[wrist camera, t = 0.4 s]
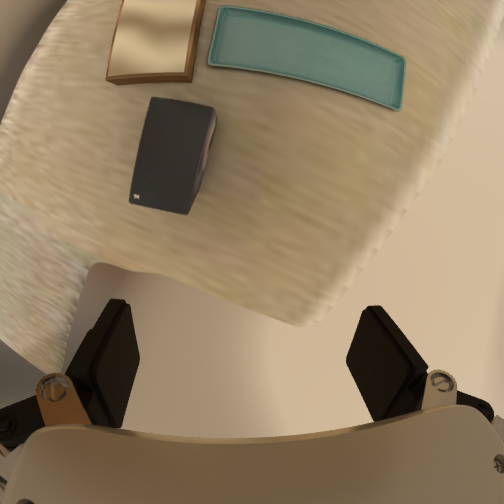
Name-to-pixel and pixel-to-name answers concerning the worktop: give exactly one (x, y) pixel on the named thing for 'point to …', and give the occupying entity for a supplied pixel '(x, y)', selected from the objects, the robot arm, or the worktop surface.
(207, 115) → the small box
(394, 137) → the worktop surface
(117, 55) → the brown rectangular tray
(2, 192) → the worktop surface
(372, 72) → the shallow long dish
